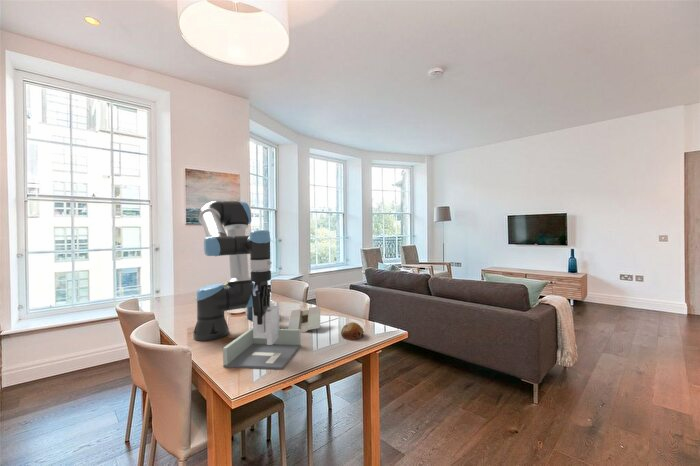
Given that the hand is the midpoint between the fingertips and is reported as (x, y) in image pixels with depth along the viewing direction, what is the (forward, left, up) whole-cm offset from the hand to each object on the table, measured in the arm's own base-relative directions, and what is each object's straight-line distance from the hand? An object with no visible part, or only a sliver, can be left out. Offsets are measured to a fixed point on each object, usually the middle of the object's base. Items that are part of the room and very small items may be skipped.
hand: (262, 331), depth 118 cm
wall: (+7, +34, -10) cm, 36 cm away
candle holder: (-15, +36, -10) cm, 40 cm away
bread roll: (+32, +25, -10) cm, 42 cm away
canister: (-25, +51, -10) cm, 58 cm away
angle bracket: (+2, -3, -2) cm, 4 cm away
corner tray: (0, +1, -10) cm, 10 cm away
